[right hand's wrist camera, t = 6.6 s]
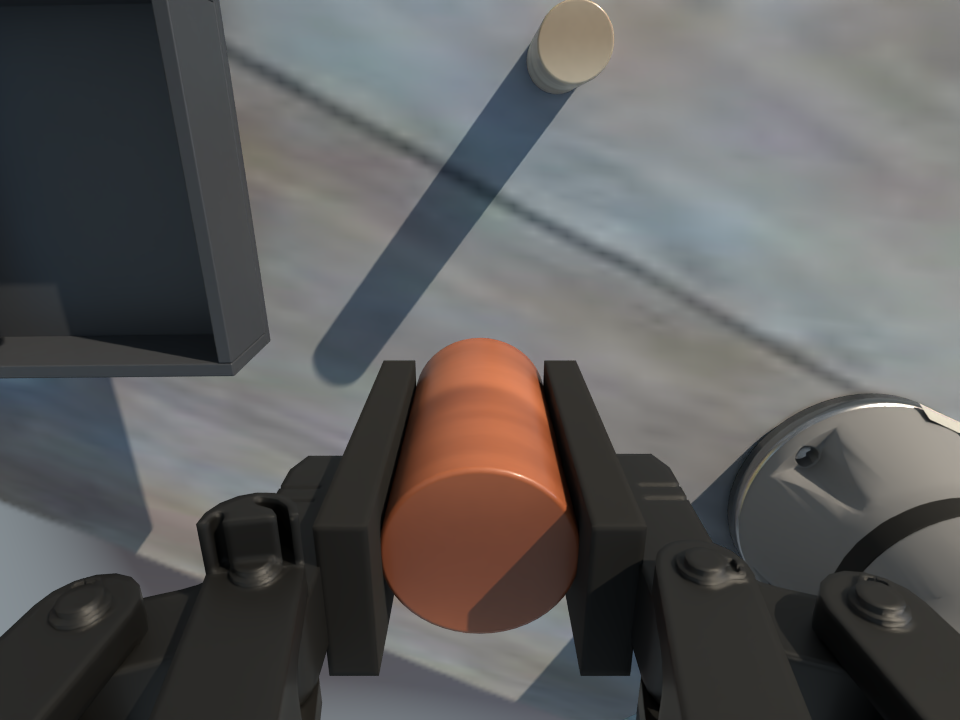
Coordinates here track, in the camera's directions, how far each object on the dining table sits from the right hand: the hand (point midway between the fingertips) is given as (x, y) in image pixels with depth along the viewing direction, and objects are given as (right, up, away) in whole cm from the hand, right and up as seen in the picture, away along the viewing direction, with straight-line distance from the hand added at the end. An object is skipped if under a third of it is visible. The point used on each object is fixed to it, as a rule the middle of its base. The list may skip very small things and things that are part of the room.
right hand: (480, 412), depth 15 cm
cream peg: (+4, +17, +16) cm, 23 cm away
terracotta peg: (0, 0, 0) cm, 0 cm away
